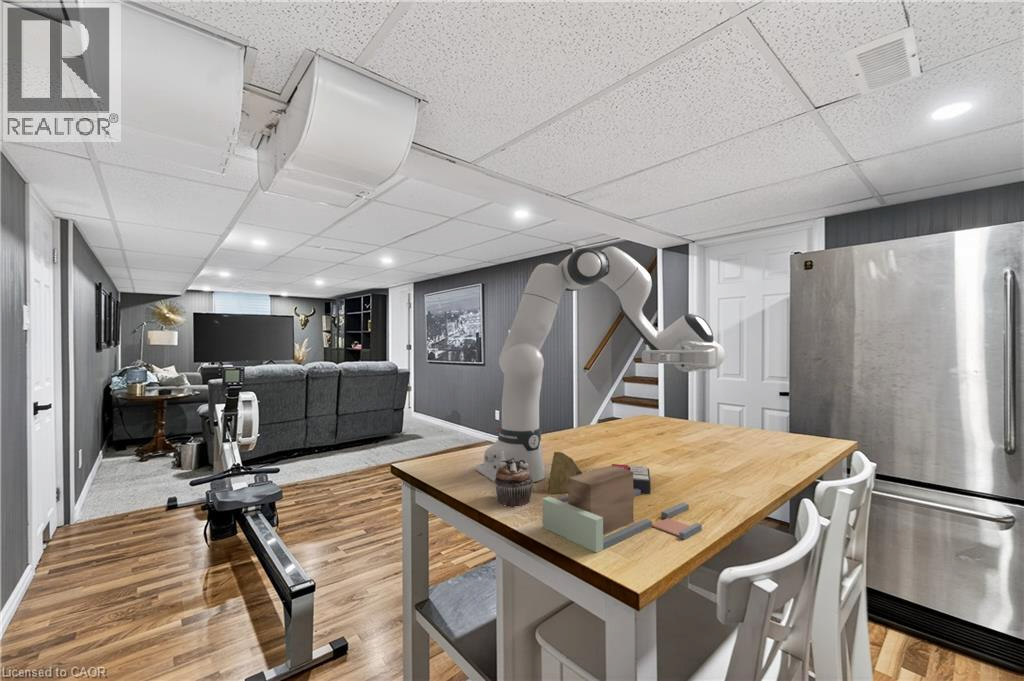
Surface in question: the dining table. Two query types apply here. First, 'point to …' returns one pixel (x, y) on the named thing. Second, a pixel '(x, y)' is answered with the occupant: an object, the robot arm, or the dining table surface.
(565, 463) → the rock
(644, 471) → the calculator
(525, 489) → the cupcake
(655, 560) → the dining table surface
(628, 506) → the walnut block
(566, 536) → the green panel rail frame
